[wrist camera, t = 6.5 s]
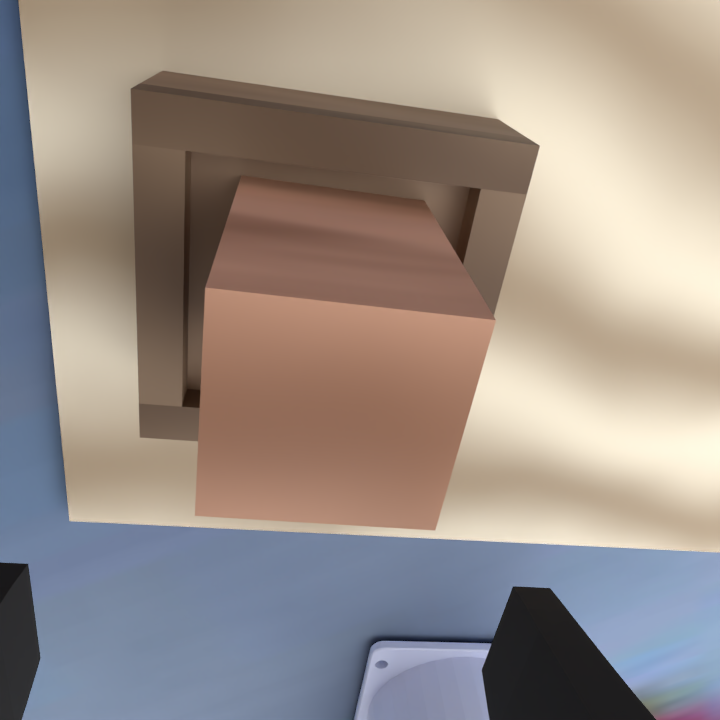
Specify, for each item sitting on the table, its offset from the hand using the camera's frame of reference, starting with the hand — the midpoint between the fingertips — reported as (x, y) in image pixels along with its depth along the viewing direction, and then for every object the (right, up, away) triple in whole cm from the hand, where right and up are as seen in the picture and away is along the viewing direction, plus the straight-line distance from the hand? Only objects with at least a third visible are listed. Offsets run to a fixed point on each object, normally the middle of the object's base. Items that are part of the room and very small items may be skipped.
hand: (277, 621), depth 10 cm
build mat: (+5, +6, +9) cm, 12 cm away
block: (0, +6, +5) cm, 8 cm away
